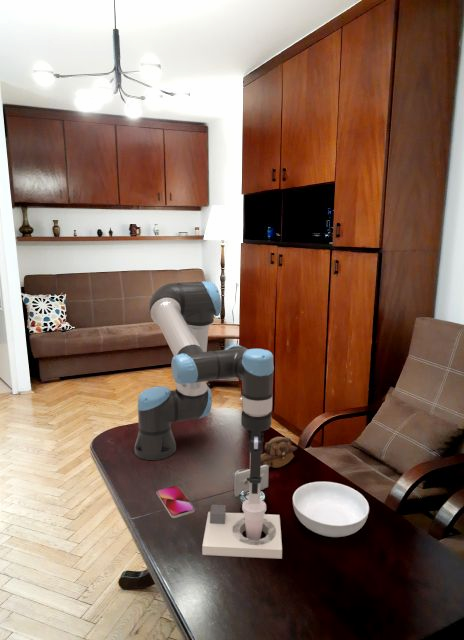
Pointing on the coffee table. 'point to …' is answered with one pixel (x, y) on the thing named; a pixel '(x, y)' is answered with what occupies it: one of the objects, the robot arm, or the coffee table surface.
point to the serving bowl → (330, 508)
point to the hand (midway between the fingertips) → (254, 486)
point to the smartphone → (175, 501)
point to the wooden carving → (278, 452)
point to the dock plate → (240, 535)
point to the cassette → (243, 484)
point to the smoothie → (254, 518)
